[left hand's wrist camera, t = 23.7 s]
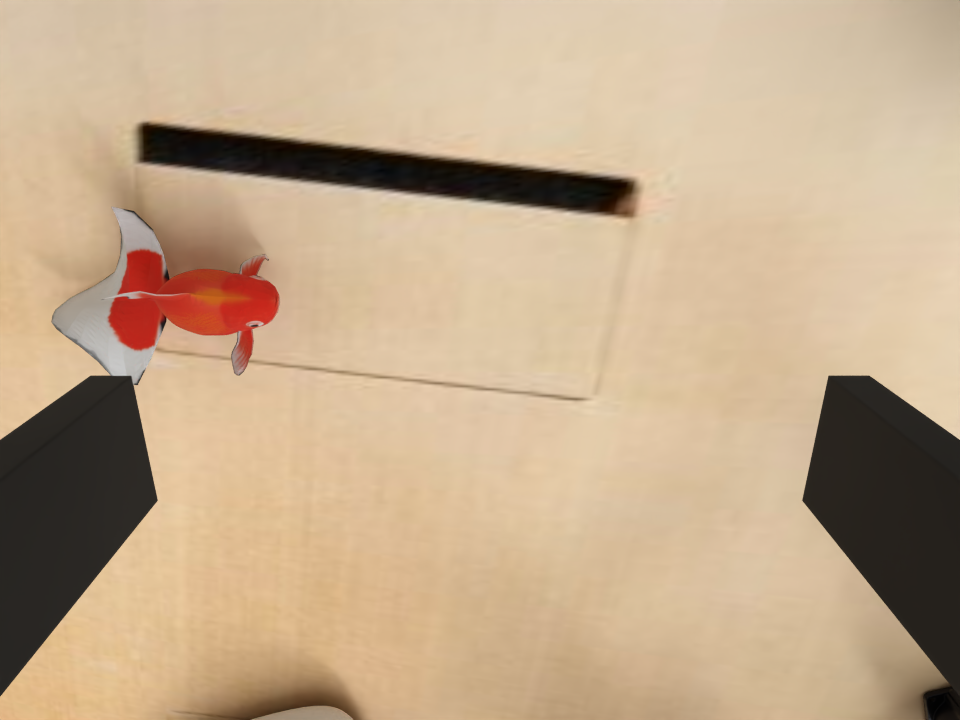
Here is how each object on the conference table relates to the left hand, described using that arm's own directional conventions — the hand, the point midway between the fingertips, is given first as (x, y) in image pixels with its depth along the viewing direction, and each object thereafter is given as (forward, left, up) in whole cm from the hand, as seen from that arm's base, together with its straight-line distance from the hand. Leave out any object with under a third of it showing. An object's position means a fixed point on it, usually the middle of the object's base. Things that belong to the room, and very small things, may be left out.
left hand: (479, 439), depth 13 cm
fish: (+18, -10, -33) cm, 39 cm away
